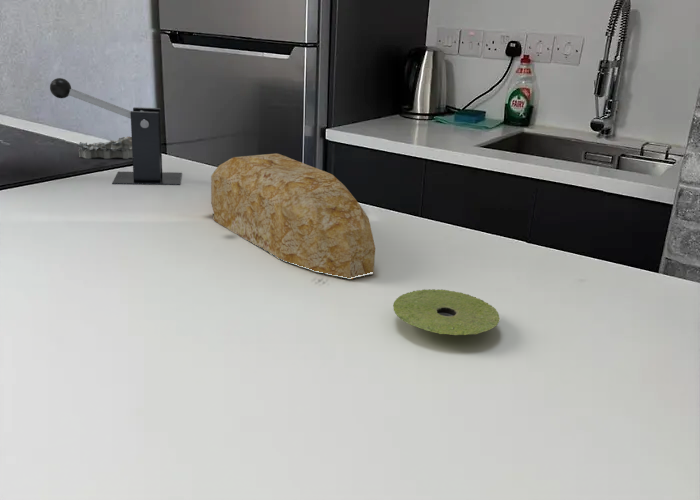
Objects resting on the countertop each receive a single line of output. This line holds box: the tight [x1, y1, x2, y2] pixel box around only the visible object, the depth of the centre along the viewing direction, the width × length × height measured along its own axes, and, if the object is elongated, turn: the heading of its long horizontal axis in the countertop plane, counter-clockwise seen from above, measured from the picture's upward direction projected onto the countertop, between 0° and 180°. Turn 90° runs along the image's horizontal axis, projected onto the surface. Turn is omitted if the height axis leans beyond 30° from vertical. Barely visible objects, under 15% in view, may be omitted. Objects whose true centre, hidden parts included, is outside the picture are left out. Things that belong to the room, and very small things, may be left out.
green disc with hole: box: [392, 288, 501, 336], centre depth 73 cm, size 11×11×2 cm
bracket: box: [111, 106, 183, 186], centre depth 116 cm, size 11×8×13 cm
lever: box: [49, 77, 145, 120], centre depth 112 cm, size 17×3×3 cm, turn 101°
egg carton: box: [77, 136, 133, 160], centre depth 132 cm, size 11×8×4 cm
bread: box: [210, 152, 376, 278], centre depth 96 cm, size 36×11×10 cm, turn 38°
